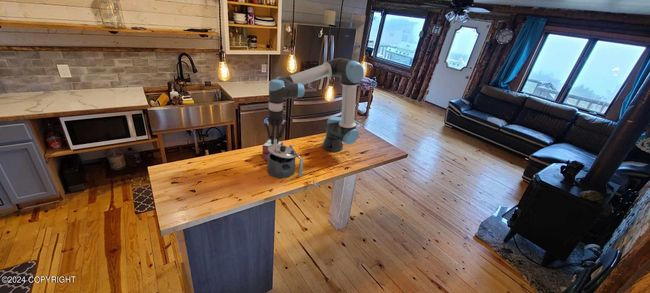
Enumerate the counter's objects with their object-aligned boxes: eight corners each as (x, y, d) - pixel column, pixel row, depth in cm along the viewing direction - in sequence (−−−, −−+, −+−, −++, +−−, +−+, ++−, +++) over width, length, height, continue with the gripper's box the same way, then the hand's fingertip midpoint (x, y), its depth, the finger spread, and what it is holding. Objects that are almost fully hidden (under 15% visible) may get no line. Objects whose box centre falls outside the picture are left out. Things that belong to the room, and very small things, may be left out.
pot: (291, 160, 175) (291, 144, 170) (302, 177, 159) (303, 159, 154) (263, 164, 167) (263, 147, 162) (272, 182, 151) (273, 164, 146)
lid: (291, 148, 169) (293, 142, 168) (301, 160, 156) (303, 154, 154) (264, 145, 160) (266, 139, 158) (272, 158, 147) (274, 151, 145)
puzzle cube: (277, 162, 172) (277, 148, 168) (262, 159, 173) (262, 145, 169) (282, 155, 181) (283, 141, 176) (268, 152, 182) (268, 139, 178)
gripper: (285, 106, 150) (283, 145, 160) (261, 107, 144) (261, 147, 154) (289, 111, 144) (287, 150, 154) (265, 112, 138) (264, 153, 148)
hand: (274, 148), depth 154 cm, fingers closed
